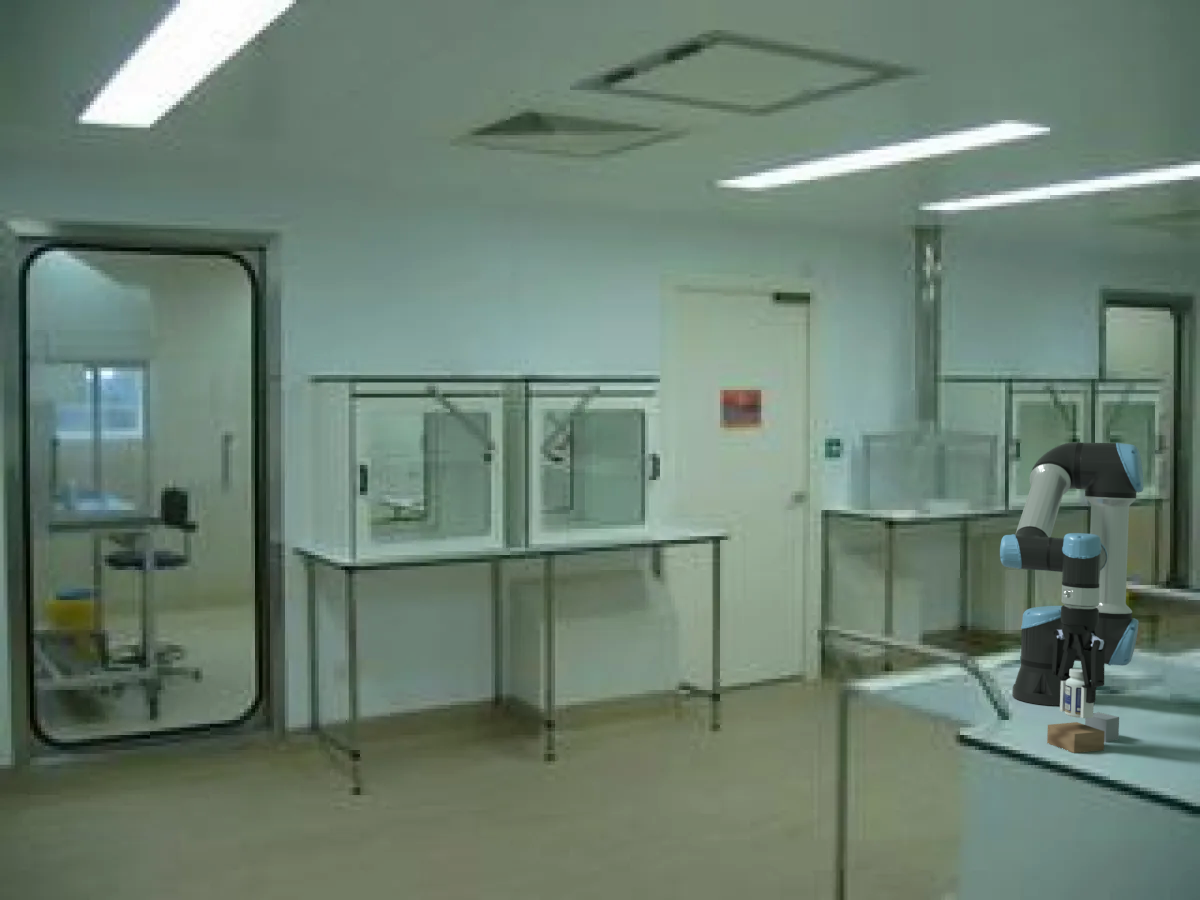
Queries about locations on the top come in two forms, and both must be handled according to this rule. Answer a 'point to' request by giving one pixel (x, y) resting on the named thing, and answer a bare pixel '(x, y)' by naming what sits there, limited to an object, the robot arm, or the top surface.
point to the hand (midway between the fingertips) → (1076, 713)
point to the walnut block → (1075, 737)
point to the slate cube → (1105, 725)
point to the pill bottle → (1074, 693)
